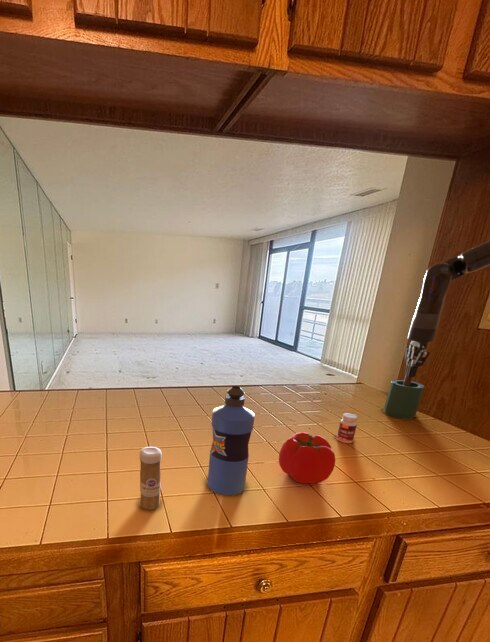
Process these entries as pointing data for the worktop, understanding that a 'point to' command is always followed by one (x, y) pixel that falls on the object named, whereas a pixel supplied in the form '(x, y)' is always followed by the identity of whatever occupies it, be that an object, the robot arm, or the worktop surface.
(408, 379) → the brush
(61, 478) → the worktop surface
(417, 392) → the jar
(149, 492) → the sprinkles bottle
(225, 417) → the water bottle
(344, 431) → the pill bottle
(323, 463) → the tomato
